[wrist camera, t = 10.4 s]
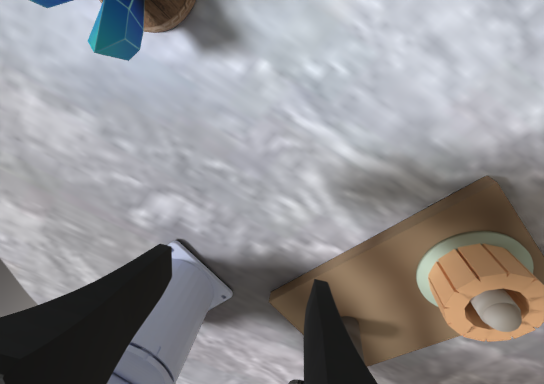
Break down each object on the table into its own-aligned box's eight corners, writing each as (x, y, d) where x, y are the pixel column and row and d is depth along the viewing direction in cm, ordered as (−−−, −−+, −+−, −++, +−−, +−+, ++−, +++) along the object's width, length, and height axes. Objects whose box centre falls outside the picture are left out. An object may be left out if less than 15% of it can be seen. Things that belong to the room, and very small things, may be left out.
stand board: (343, 362, 29) (349, 430, 24) (270, 292, 26) (258, 351, 21) (557, 287, 21) (638, 362, 16) (486, 175, 18) (556, 221, 13)
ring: (493, 313, 21) (518, 349, 19) (416, 296, 22) (430, 329, 19) (538, 254, 19) (575, 287, 16) (449, 236, 19) (470, 264, 16)
